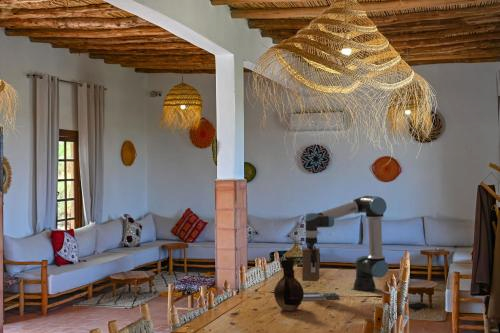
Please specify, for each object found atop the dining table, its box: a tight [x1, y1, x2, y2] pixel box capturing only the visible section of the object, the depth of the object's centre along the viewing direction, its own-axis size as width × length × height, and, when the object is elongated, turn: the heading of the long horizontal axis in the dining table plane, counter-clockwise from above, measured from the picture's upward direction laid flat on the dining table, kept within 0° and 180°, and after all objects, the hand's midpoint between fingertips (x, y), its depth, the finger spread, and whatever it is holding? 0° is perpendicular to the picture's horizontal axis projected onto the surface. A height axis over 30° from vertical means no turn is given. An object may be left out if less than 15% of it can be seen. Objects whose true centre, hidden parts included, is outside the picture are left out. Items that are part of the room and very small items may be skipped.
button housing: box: [322, 292, 340, 300], centre depth 444 cm, size 8×8×2 cm
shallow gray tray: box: [302, 291, 327, 302], centre depth 444 cm, size 16×14×2 cm
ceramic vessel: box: [273, 258, 304, 312], centre depth 408 cm, size 21×18×30 cm
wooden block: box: [301, 247, 321, 282], centre depth 444 cm, size 10×10×20 cm
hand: (310, 270), depth 444 cm, fingers closed on wooden block, 12 cm apart
